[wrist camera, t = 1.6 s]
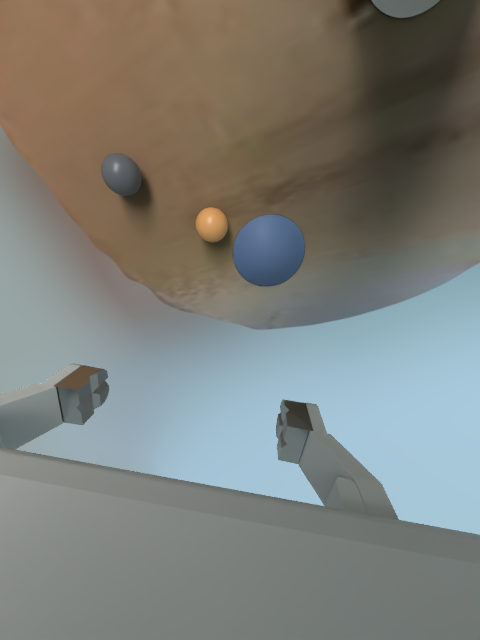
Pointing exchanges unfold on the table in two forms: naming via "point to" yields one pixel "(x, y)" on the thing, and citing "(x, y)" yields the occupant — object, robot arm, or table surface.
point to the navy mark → (268, 250)
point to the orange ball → (211, 224)
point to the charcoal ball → (121, 174)
